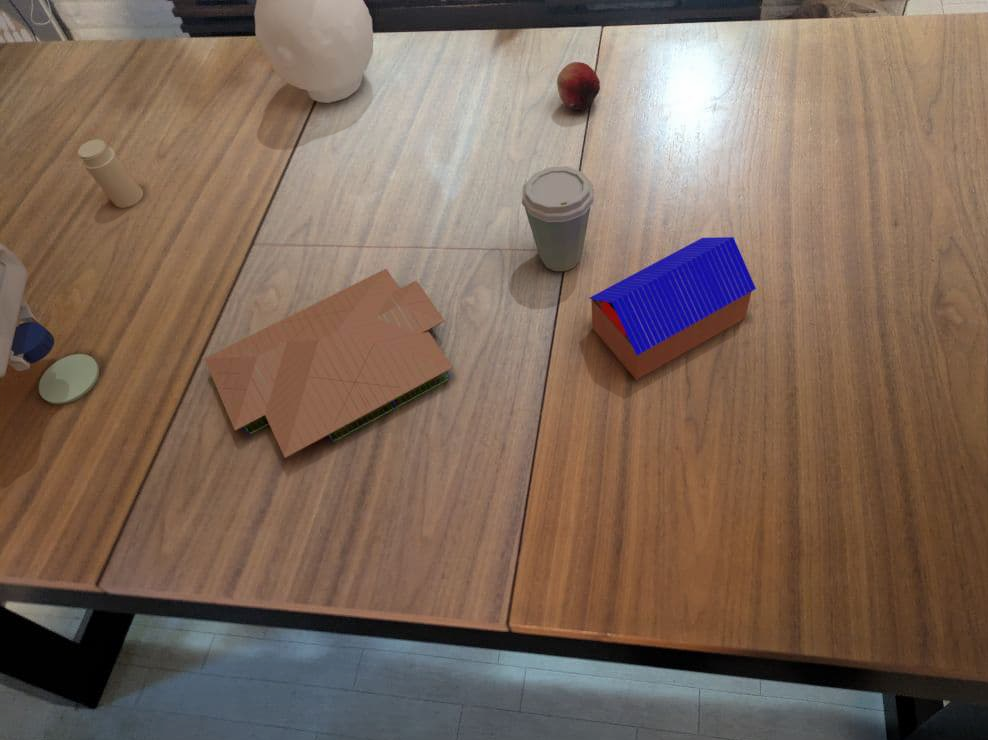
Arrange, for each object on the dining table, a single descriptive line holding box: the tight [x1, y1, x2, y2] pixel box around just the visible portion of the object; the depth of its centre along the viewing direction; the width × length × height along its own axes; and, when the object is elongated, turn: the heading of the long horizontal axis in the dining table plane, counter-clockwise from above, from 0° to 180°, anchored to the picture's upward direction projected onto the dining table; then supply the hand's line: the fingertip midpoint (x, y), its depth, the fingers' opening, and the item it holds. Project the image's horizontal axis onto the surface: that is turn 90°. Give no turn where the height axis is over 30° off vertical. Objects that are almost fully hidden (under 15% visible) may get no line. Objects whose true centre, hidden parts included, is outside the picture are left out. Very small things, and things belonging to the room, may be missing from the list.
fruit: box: [556, 61, 601, 111], centre depth 129 cm, size 8×8×8 cm
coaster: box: [38, 353, 100, 405], centre depth 109 cm, size 9×9×1 cm
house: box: [588, 236, 757, 381], centre depth 100 cm, size 12×20×12 cm, turn 121°
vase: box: [253, 0, 374, 104], centre depth 130 cm, size 19×21×30 cm
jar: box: [77, 138, 144, 209], centre depth 126 cm, size 6×6×11 cm
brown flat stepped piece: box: [204, 268, 454, 459], centre depth 102 cm, size 23×33×8 cm
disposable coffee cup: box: [521, 166, 595, 272], centre depth 107 cm, size 11×11×15 cm
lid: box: [11, 322, 55, 365], centre depth 101 cm, size 6×6×2 cm
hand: (29, 345), depth 102 cm, fingers closed on lid, 6 cm apart
